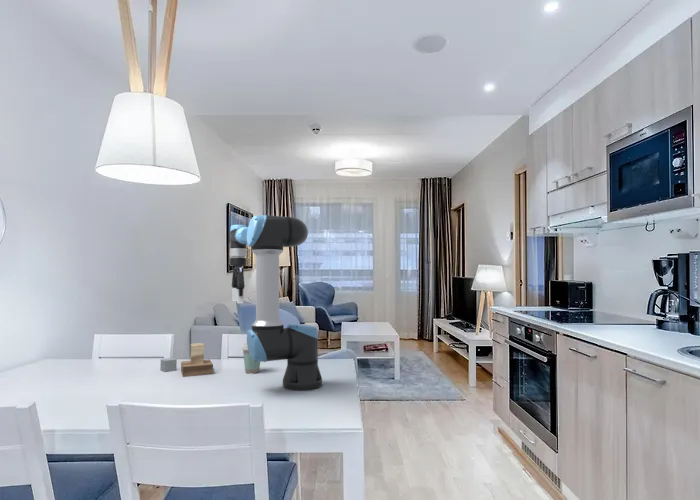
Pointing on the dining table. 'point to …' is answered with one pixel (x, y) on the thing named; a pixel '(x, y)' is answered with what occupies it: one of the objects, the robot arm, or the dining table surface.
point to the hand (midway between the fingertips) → (237, 302)
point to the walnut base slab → (196, 368)
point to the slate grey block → (168, 364)
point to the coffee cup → (250, 361)
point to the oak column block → (197, 353)
